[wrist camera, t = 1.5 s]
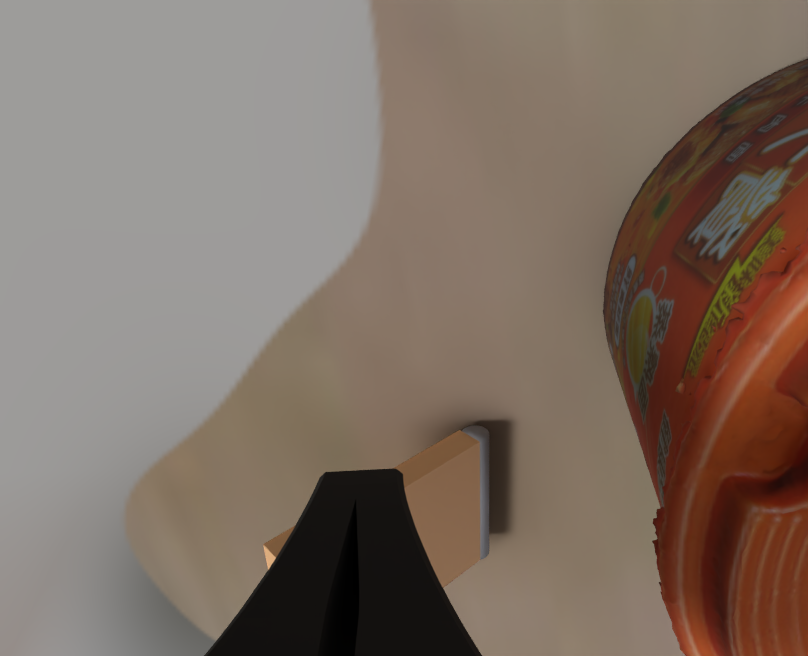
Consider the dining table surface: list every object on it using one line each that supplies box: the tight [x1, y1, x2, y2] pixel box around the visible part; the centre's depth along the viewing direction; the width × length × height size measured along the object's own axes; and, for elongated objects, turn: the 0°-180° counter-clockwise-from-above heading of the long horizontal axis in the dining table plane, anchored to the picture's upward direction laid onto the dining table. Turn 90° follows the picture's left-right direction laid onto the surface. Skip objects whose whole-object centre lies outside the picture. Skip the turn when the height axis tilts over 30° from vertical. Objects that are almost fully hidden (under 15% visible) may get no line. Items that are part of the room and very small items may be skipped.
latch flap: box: [263, 425, 489, 588], centre depth 20 cm, size 5×8×1 cm
